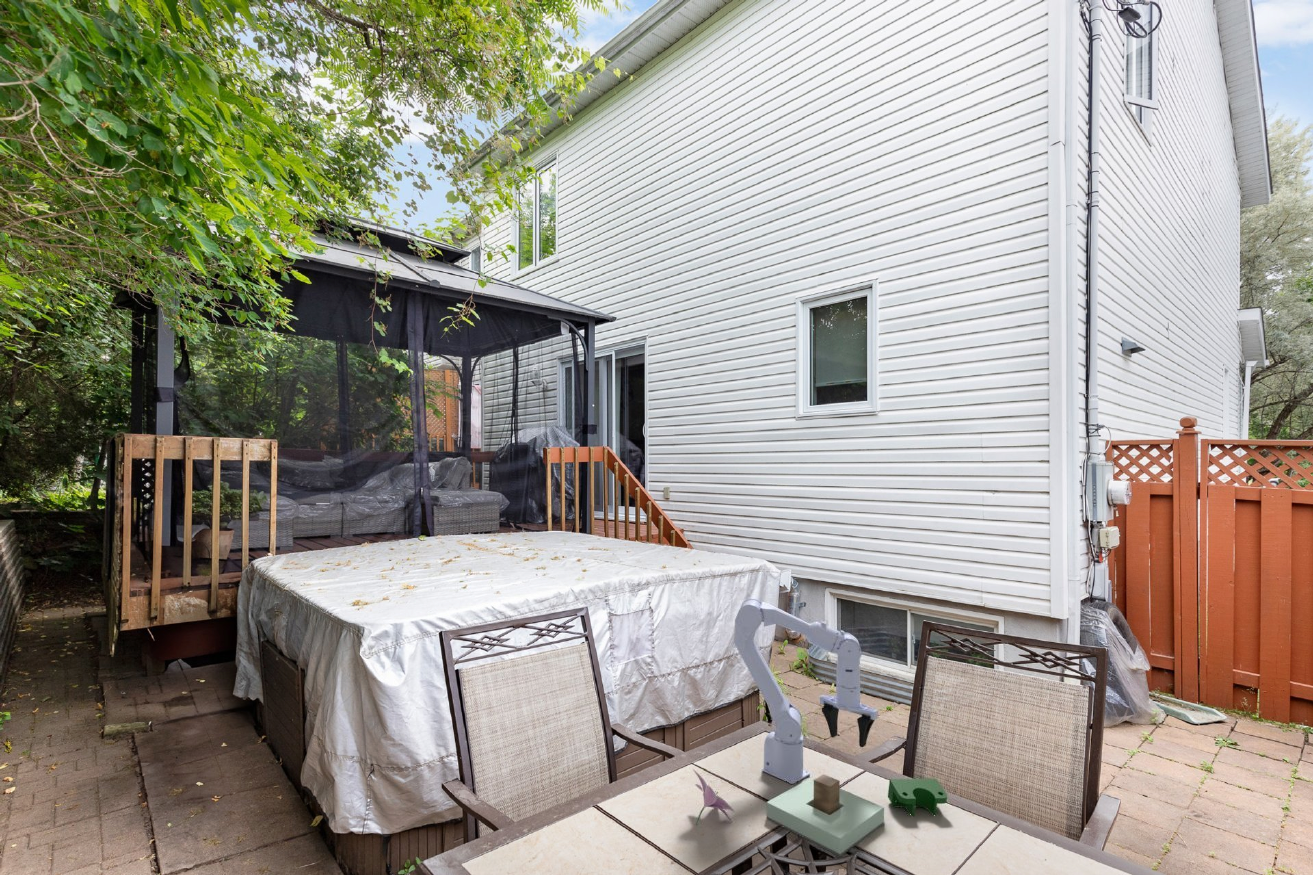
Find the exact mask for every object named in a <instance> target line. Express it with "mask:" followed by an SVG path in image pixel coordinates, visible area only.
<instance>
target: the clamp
mask: <svg viewBox="0 0 1313 875" xmlns="http://www.w3.org/2000/svg"><path fill="white" fill-rule="evenodd" d="M887 798H888V800H889V802H890V803H891V805H892V806H893V807H894V806H899V807H898V808H902V807H903V808H905V809H906V810H907V812H908V814H909V815H910V814H911V815H910V817H914V816H915V811H916V807H915V806H917V807H923V808H925V809H927V810H928V811H929V812H930V813H931V815H932V814H933V815H932V817H935V816H936V814H937V807H938V805H939V804H946V803H947V802H948V793H947V792H946V790H945V789H944V787H942V785H941V783H940V782H939V781H938V779H937V778H889V783H888V791H887ZM901 806H902V807H901ZM904 806H905V807H904ZM934 815H935V816H934Z"/></svg>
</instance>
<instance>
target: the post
mask: <svg viewBox="0 0 1313 875" xmlns="http://www.w3.org/2000/svg"><path fill="white" fill-rule="evenodd" d="M815 778H816V779H814V808H815V809H818V810H820V811H822V812H824V813H826V814H828V815H831V814H833V813H834V812H836V811H837V810H839V805H840V789H841V787H840V786H841V785H840V782H841V781H840V780H839V779H836V778H833V777H831V776H829V775H826V774H824V773H823V774H821V775H820V776H818V777H815Z"/></svg>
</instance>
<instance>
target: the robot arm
mask: <svg viewBox="0 0 1313 875" xmlns="http://www.w3.org/2000/svg"><path fill="white" fill-rule="evenodd" d="M762 623H763V627H769V626H772V625H777V626H780V627H783V628H786V629H788V630H790V631H792V632H794V633H798V634H800V635H802V636H805V638H806V640H807V642H808V643H809V644H811V645H813V646H815V647H817V648H820V649H822V650H823V651H826V652H829V653H831V654H835V655H837V664H836V690H835V691H836V692H835V693H836V694H835V696H831V695H826V694H823V695H822V694H821V695H819V704H820V705H821V706H823V707H821V713H822V714H823V717H824V718H825V721H826V723H827V725H828V730H829V734H830V738H835V737H837V736H838V719H839V711H840V710H841V711H846V712H850V713H852V714H855V715H856V714H857V715H859V717H857V719H856V722H857V725H858V726H857V727H858V733H859V734H858V737H859V739H858V742H859V743H858V745H859V747H860V748H864V747H866V746H867V740H868V737H869V734H870V732H871V729H872V726H873V724H874V722H875V721H876V720H877V719H878V718H879V710H878V709H876V708H873V707H870V706H868V705H866V704H865V703H861V667H860V665H861V660H860V659H861V657H862V654H863V651H862V648H861V645H860V642H859V640H858V639H857V637H856V636H854V635H853V634H851V633H850V632H845V631H844V630H840V631H839V630H837V629H835V628H833V627H830V626H828V625H827V622H825V621H823V620H821V621H814V622H810V623H809V622H806V621H805V620H803V619H801V618H799V617H797V616H795V615H793V614H791V613H789V612H786V611H785V610H783V609H781V608H778V607H776V606H775V605H772V604H770V603H768V602H766V601H762V602H761V600H759V599H756V598H748V599H745V600H744V601H743V602H742V604H741V605H740V608H739V610H738V612H737V614H736V617H735V619H734V635H733V640H734V641H733V643H734V646H735V647H736V650H737V651H738V653H739V655H740V657H741V658H742V660H743V662H744V664H745V666H746V668H747V670H748V671H749V674H750V675H751V677H752V678H753V681H754V682H755V685H756V686H757V688H758V689H759V691H760V693H761V695H762V697H763V699H764V700H765V702H766V704H767V706H768V708H769V712H770V716H771V719H772V720H773V723H774V726H775V731H771V732H769V733H768V734H767V736H766V737H765V739H764V744H763V767H762V768H761V771H762V772H764V773H766V774H768V775H771V776H773V777H775V778H777V779H779V780H781V781H784V782H786V781H787V782H786V783H788V782H789V784H790V785H795V784H797V783H798V782H800V781H802V780H803V779H805V778H807V777H809V776H810V775H811V772H810V771H807V770H805V769H804V735H803V734H802V732H803V731H802V721H803V720H802V719H803V718H802V717H803V716H802V713H801V711H800V710H799V709H798V708H797V706H794V705H793V704H792V703H791V701H790V699H789V698H788V697H787V696H786V695H785V694H784V691H782V688H781V686H780V684H779V682H778V681H777V679H776V677H775V675H774V674H773V672H772V670H771V669H770V667H769V665H768V663H767V661H766V659H765V658H764V656H763V654H762V652H761V650H760V648H759V646H758V645H757V643H756V641H755V636H756V633H757V631H758V629H759V628H760V626H761V625H762ZM808 775H809V776H808ZM797 781H798V782H797Z"/></svg>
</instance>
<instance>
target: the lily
mask: <svg viewBox="0 0 1313 875" xmlns="http://www.w3.org/2000/svg"><path fill="white" fill-rule="evenodd" d="M692 770H693V772H694V773H695V775H696V776H697V778H698V780H699V782H700V784H701V785H700V784H698V783H694V785H695V786H696V787H697V788H698V789H699V790H700V791H701V792H703V793H702V796H703V806H702V809H701V810H700V812H699V814H698V816H697V820H696V823H695V825H696V826H697V825H698V823H699V820H700V818H701V815H702V813H703V811H704V809H705V808H714V809H717V810H719V811H720V812H722V813H723V815H725V817H726V818H727V819H728V820H729V821H730V822H731V823H733V822H732V819H731V817H730V816H729V815H728V813H727V811H728V810H730V811H732V812H735V810H734V808H733V807H732V806H731V805H730V804H729V803H728V802H727V801H726V800H725V799H724V798H722V797H720V796H719V795H718V794H719V791H717V790H714V789H713V788H712V787H711V786H710V785H709V784H707V782H706V781H705V780H704V778H703V777H702V776H701V775H700V774H699V773H698V772H697V771H696V770H695V769H692ZM726 810H727V811H726Z"/></svg>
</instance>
